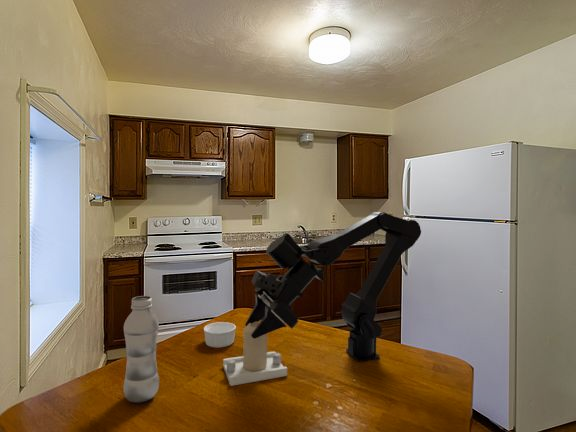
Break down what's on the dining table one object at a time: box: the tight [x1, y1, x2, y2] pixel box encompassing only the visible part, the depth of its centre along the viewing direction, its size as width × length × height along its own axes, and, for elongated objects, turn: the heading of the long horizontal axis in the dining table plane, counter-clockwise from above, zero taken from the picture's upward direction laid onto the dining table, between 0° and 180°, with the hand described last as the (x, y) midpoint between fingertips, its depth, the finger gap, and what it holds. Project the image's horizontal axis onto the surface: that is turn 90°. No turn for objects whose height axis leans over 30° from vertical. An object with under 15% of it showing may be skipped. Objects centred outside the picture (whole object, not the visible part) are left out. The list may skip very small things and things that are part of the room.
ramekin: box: [203, 321, 237, 349], centre depth 93 cm, size 9×9×4 cm
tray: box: [222, 350, 288, 387], centre depth 77 cm, size 13×9×3 cm
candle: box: [242, 322, 268, 371], centre depth 77 cm, size 6×6×10 cm
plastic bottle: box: [122, 295, 160, 404], centre depth 65 cm, size 6×7×20 cm
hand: (249, 331), depth 76 cm, fingers open, 6 cm apart
